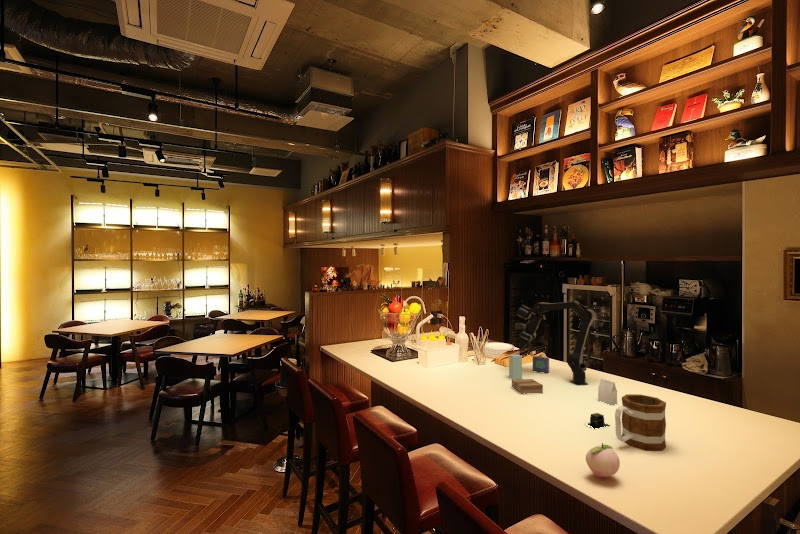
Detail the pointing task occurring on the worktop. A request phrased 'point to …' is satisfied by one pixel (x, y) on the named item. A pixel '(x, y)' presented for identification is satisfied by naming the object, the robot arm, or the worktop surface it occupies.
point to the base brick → (527, 386)
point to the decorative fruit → (603, 460)
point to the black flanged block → (597, 421)
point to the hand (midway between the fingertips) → (521, 348)
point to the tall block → (515, 366)
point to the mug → (642, 422)
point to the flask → (541, 364)
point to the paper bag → (607, 392)
